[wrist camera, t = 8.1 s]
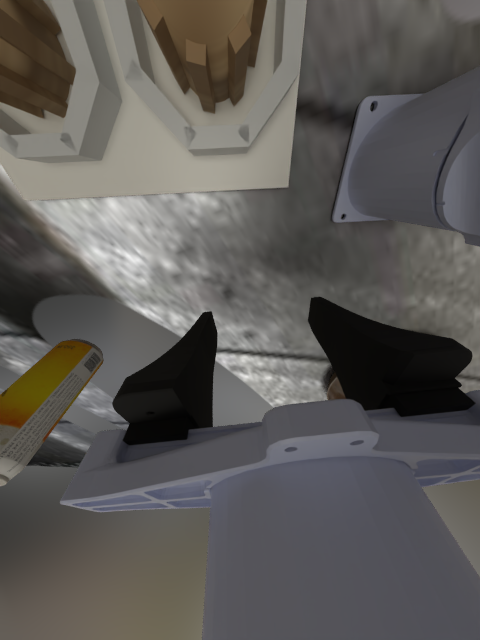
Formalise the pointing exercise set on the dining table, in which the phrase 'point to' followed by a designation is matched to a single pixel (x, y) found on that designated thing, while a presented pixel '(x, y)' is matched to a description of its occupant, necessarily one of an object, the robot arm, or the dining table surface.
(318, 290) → the dining table surface
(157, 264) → the dining table surface
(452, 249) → the dining table surface
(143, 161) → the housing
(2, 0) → the seated gear
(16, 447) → the beer can
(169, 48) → the loose gear
